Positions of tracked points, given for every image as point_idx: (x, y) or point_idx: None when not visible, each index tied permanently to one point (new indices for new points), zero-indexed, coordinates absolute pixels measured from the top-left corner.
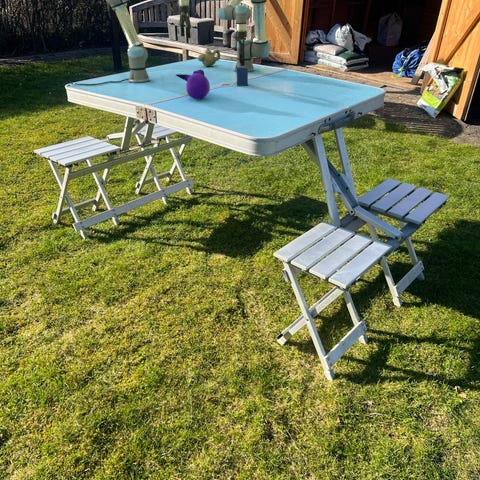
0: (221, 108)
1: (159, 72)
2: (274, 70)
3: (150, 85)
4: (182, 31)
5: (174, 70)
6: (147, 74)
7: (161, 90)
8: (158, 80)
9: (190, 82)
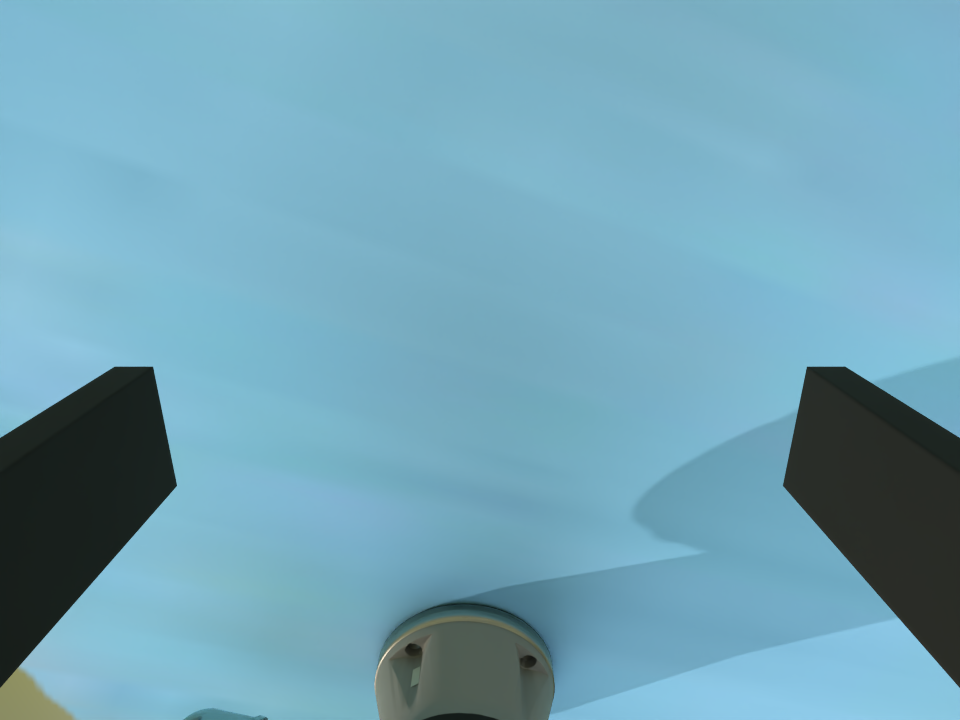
0: None
1: None
2: None
3: (697, 642)
4: (54, 539)
5: (3, 247)
6: (502, 663)
7: None
8: (524, 544)
9: None
